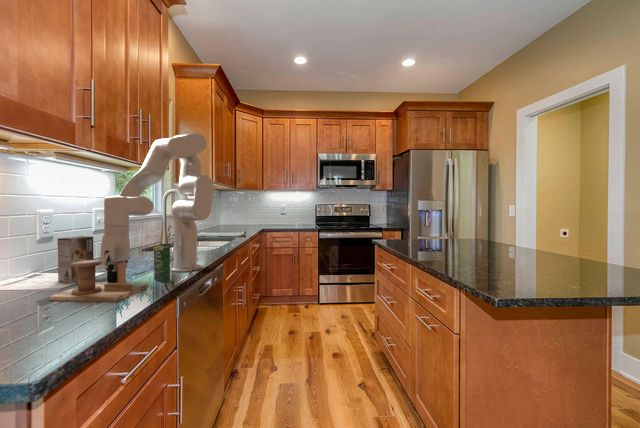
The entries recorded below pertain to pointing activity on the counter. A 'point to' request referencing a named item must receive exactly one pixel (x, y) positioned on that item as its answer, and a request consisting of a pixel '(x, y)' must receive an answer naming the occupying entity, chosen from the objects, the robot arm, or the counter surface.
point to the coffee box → (73, 256)
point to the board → (103, 292)
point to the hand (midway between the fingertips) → (116, 280)
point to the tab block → (121, 271)
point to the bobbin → (86, 277)
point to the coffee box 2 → (162, 263)
